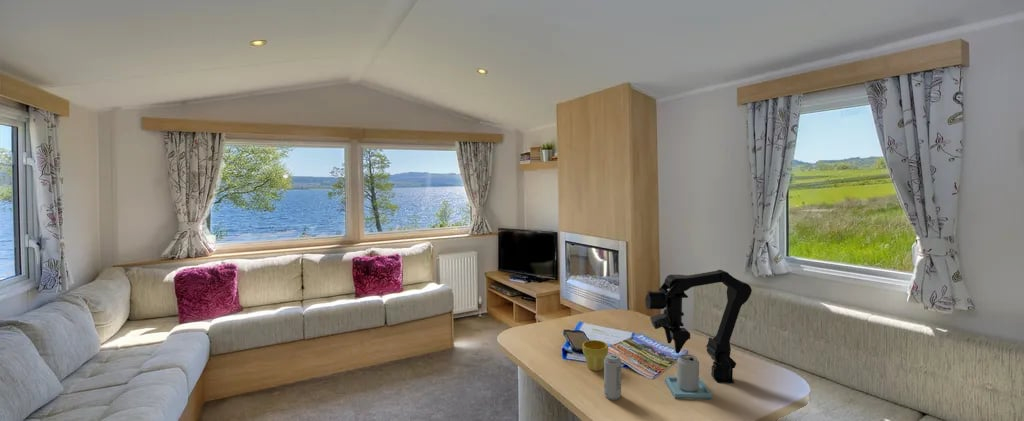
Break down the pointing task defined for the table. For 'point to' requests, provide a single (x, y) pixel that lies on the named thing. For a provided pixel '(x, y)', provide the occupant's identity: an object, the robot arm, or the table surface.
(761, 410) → the table surface
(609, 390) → the energy drink can
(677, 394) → the tray
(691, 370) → the can
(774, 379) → the table surface
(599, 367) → the plant pot
